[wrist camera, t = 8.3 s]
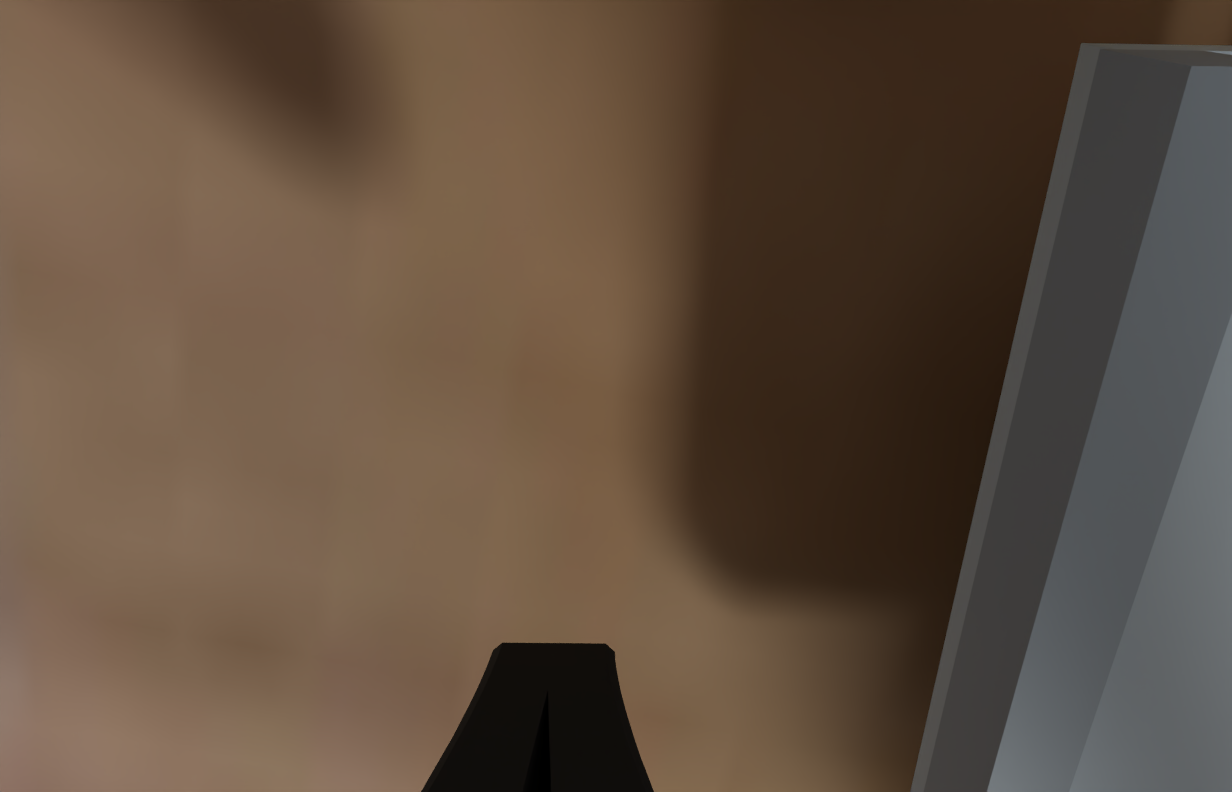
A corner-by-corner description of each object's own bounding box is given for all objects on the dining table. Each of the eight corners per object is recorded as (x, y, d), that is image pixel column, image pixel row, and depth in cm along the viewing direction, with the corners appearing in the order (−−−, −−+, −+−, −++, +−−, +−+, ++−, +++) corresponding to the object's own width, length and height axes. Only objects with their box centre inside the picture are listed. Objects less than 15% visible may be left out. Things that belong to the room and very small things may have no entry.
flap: (1220, 948, 16) (1307, 1091, 14) (866, 946, 16) (902, 1089, 14) (1670, 52, 9) (1960, 78, 7) (1066, 42, 9) (1191, 66, 7)
